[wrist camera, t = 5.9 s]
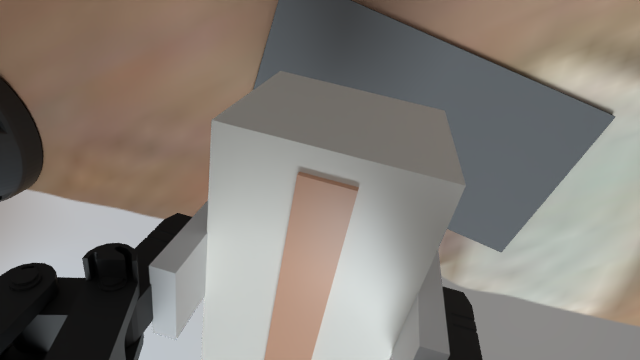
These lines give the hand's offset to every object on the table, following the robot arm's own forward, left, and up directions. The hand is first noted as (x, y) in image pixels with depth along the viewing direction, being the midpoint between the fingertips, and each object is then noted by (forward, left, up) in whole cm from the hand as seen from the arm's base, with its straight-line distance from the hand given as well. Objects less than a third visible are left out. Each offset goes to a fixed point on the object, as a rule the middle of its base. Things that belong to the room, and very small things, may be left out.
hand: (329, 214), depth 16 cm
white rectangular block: (0, 0, -1) cm, 1 cm away
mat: (+3, 0, -15) cm, 15 cm away
